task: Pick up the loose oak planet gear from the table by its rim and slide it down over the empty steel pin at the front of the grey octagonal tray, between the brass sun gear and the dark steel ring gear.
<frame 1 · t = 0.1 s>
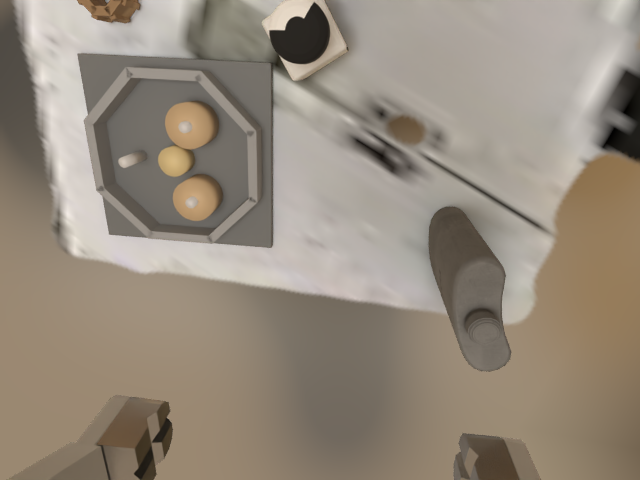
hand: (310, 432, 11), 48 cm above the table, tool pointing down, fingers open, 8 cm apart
grey octagonal tray: (184, 156, 58), on the table
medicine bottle: (311, 39, 51), on the table
flask: (449, 252, 60), on the table
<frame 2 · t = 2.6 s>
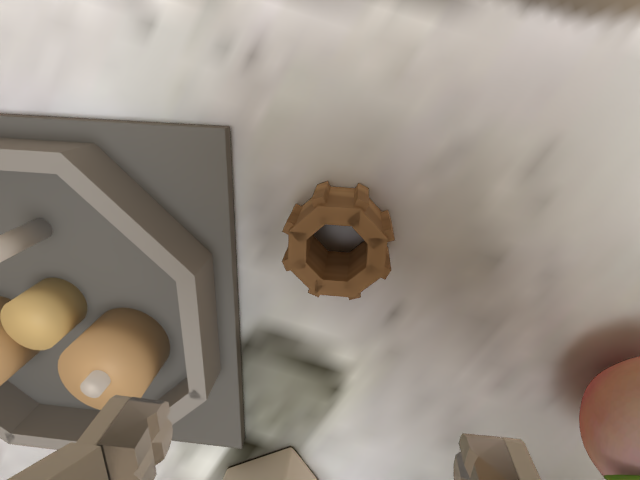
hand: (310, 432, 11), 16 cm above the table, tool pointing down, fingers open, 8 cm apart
grey octagonal tray: (70, 294, 30), on the table
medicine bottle: (280, 479, 36), on the table
decorative fruit: (616, 366, 28), on the table
planet gear: (340, 227, 26), on the table
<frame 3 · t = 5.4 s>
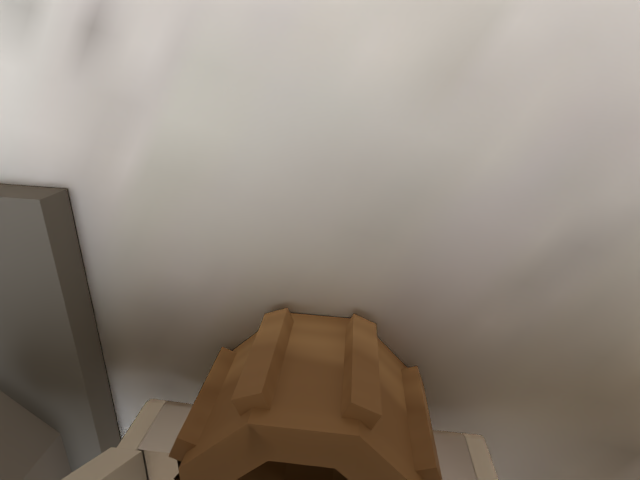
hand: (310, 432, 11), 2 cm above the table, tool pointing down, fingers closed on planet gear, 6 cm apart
planet gear: (317, 387, 13), on the table, touching gripper
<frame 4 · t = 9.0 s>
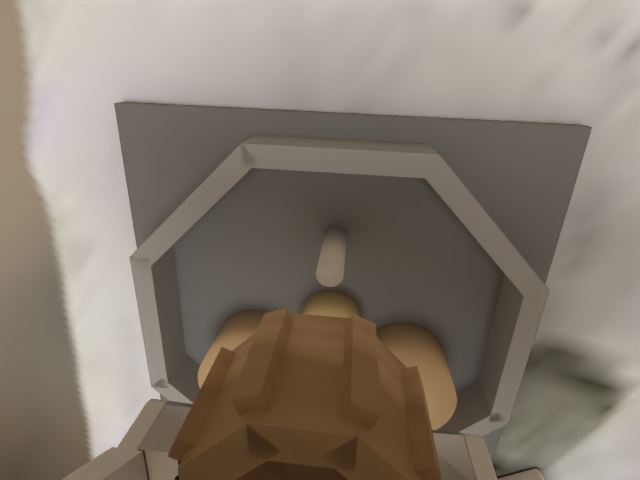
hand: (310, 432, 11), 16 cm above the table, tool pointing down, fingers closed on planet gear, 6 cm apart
grey octagonal tray: (331, 307, 28), on the table
planet gear: (316, 387, 13), point 14 cm above the table, touching gripper
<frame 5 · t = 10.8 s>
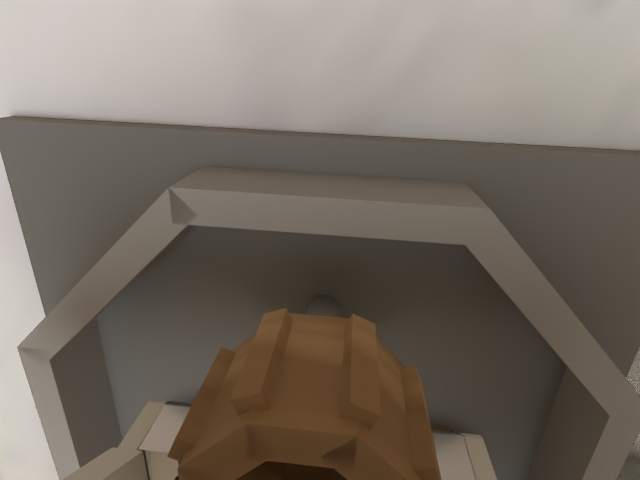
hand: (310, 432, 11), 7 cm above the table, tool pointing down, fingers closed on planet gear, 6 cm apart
grey octagonal tray: (320, 395, 20), on the table
planet gear: (316, 387, 13), point 6 cm above the table, touching gripper
when the fingers open (4 cm above the table, at t = 12.4 s): planet gear drops 1 cm, resting on grey octagonal tray.
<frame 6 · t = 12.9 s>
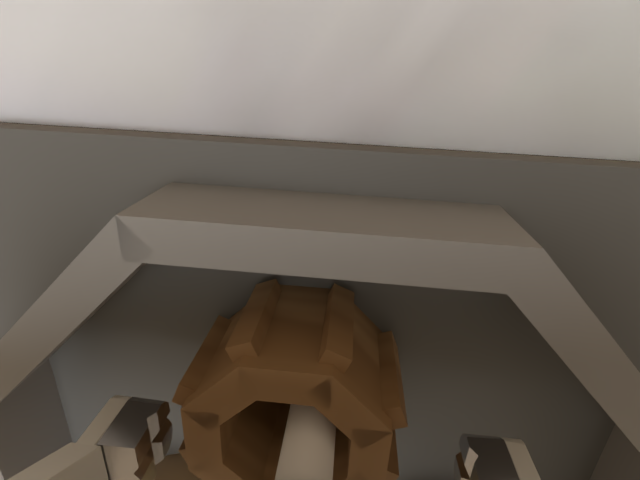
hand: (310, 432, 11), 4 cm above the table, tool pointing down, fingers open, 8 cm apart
grey octagonal tray: (317, 446, 17), on the table
planet gear: (304, 353, 14), point 1 cm above the table, touching grey octagonal tray
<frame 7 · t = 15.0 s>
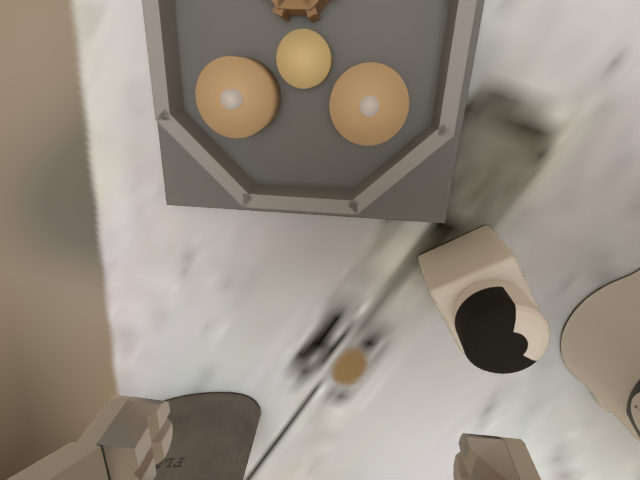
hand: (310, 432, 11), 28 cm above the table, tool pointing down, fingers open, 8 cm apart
grey octagonal tray: (308, 60, 33), on the table
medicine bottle: (464, 268, 39), on the table
flask: (202, 410, 49), on the table
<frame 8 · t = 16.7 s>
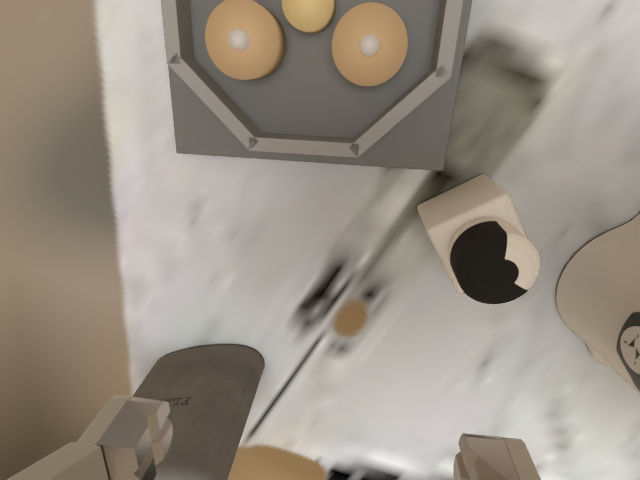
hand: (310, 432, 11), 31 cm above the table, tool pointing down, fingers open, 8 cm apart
grey octagonal tray: (313, 9, 34), on the table
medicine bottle: (462, 218, 41), on the table
flask: (208, 362, 51), on the table
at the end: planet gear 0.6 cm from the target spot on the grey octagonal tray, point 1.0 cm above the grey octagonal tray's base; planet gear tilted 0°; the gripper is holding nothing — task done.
